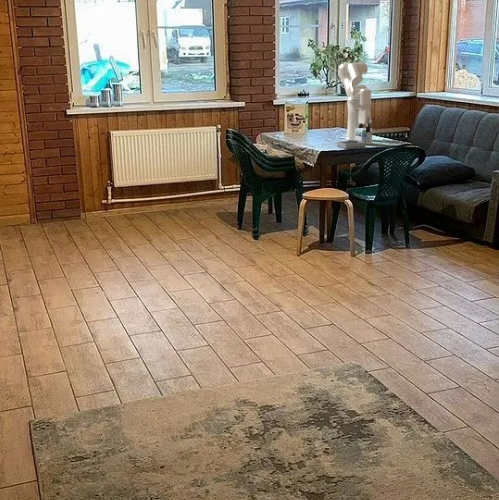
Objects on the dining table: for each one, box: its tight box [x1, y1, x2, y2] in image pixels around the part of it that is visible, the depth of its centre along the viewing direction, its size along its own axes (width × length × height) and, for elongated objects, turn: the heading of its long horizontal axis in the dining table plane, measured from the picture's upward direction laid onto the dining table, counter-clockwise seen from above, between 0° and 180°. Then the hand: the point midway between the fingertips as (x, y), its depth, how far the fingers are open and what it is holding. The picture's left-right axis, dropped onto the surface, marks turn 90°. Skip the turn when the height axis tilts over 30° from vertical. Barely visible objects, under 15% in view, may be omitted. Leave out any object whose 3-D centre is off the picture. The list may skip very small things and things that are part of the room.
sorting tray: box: [337, 140, 367, 150], centre depth 494 cm, size 12×16×4 cm
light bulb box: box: [354, 127, 374, 145], centre depth 507 cm, size 11×7×11 cm, turn 126°
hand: (364, 131), depth 505 cm, fingers open, 9 cm apart
